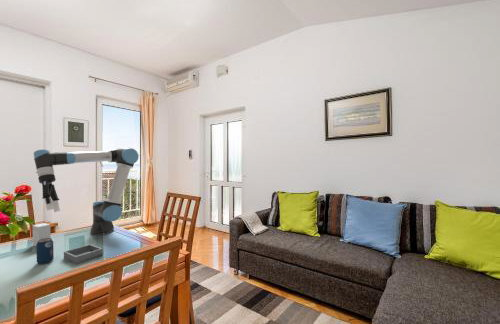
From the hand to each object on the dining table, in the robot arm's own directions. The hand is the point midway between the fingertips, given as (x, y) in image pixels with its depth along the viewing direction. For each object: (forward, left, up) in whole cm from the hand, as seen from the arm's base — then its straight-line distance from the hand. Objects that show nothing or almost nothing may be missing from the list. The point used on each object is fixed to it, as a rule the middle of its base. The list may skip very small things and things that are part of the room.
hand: (53, 210), depth 140 cm
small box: (-2, -23, -26) cm, 35 cm away
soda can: (+7, +9, -26) cm, 28 cm away
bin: (-7, +19, -25) cm, 32 cm away
